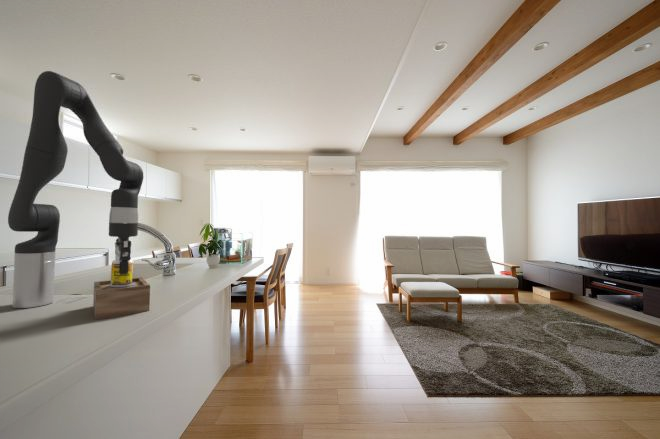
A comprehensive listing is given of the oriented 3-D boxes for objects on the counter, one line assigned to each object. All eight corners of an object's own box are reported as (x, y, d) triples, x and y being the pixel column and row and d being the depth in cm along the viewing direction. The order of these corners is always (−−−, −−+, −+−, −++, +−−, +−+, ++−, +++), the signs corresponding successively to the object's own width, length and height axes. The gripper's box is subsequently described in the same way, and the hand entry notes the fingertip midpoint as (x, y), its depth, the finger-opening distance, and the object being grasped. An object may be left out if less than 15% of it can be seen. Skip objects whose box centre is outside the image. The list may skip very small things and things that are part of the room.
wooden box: (93, 306, 90) (94, 281, 90) (140, 299, 99) (141, 277, 99) (95, 319, 78) (96, 291, 78) (149, 310, 87) (150, 285, 87)
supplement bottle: (109, 288, 84) (111, 255, 85) (111, 285, 89) (112, 253, 89) (131, 286, 88) (133, 254, 88) (132, 283, 92) (133, 253, 93)
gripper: (107, 221, 91) (105, 269, 91) (111, 221, 81) (109, 276, 81) (134, 221, 97) (133, 267, 96) (141, 222, 86) (139, 273, 86)
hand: (122, 271), depth 88 cm, fingers open, 8 cm apart
